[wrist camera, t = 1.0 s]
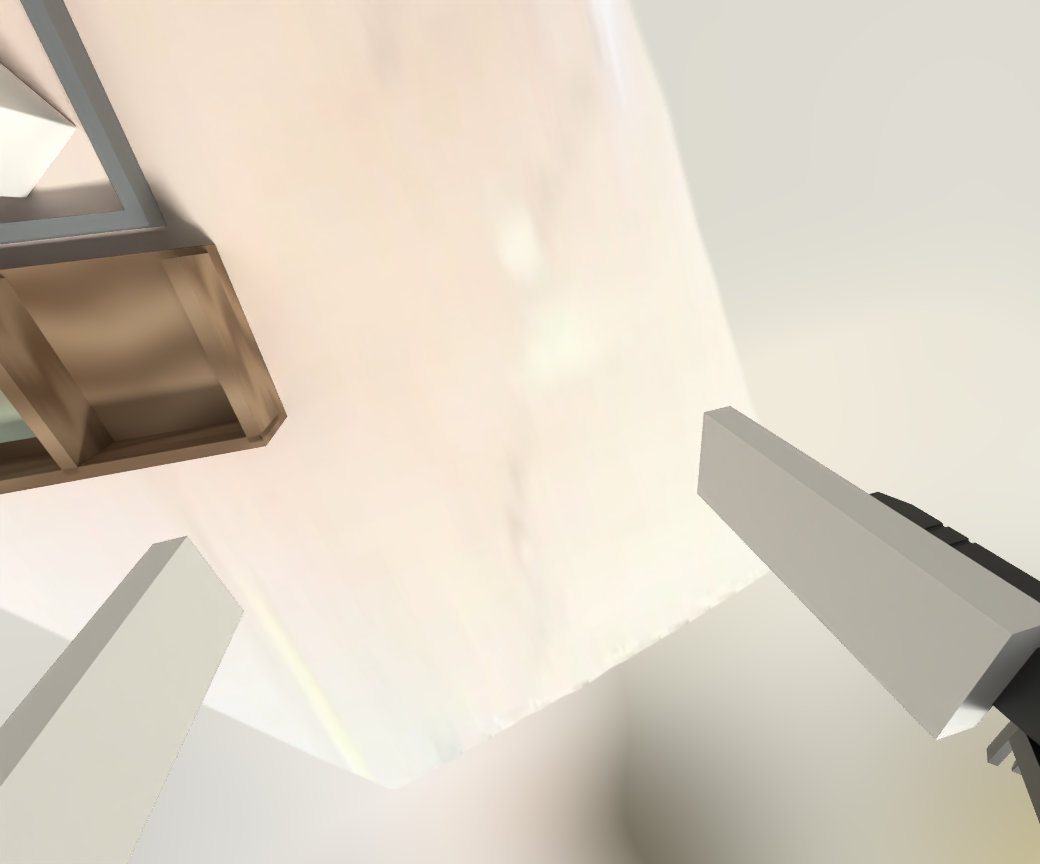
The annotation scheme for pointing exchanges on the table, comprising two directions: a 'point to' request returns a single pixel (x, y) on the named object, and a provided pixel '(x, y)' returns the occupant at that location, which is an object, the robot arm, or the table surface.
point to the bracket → (101, 129)
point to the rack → (126, 367)
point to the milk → (27, 135)
